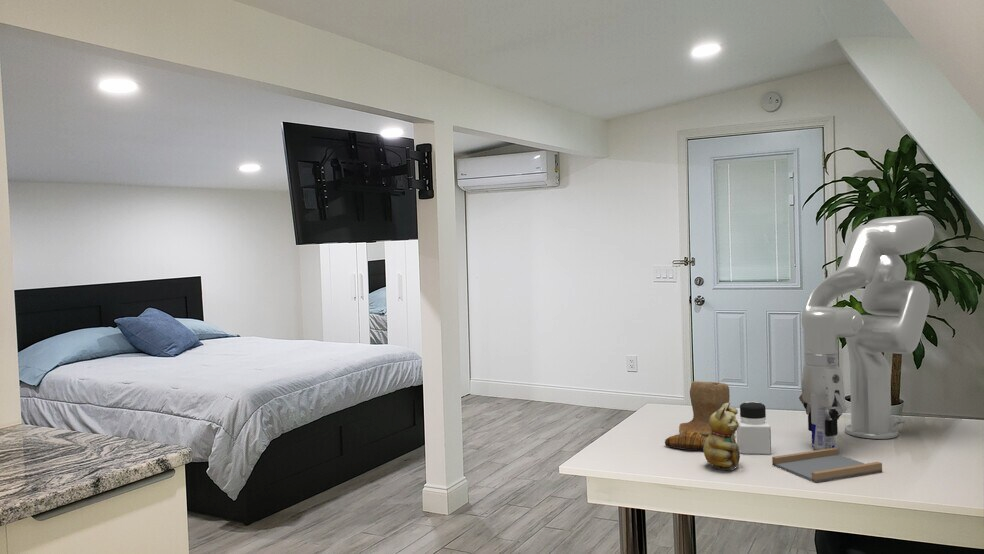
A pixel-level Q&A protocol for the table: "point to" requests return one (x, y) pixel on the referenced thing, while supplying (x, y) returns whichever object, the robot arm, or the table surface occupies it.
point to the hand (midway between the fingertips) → (822, 432)
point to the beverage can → (819, 426)
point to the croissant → (686, 441)
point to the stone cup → (705, 405)
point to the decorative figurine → (722, 439)
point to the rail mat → (824, 465)
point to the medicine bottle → (753, 429)
